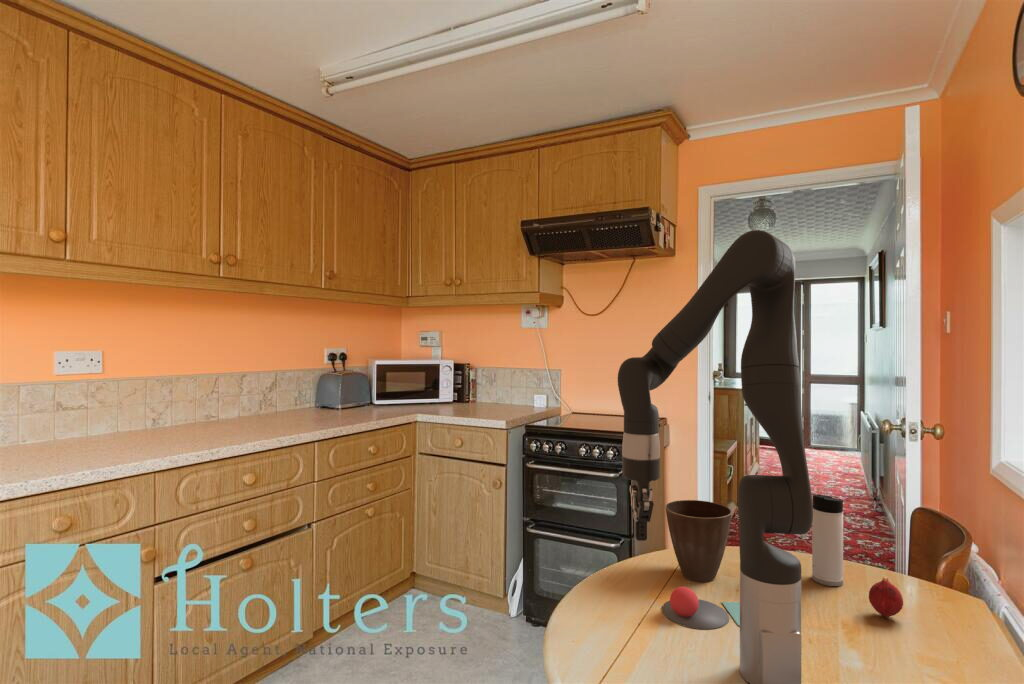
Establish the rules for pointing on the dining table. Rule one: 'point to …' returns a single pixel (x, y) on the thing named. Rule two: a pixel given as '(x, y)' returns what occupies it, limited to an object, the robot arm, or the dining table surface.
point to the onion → (885, 598)
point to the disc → (699, 616)
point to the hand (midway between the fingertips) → (640, 539)
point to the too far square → (733, 610)
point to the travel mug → (827, 540)
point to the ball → (684, 601)
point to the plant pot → (698, 536)
